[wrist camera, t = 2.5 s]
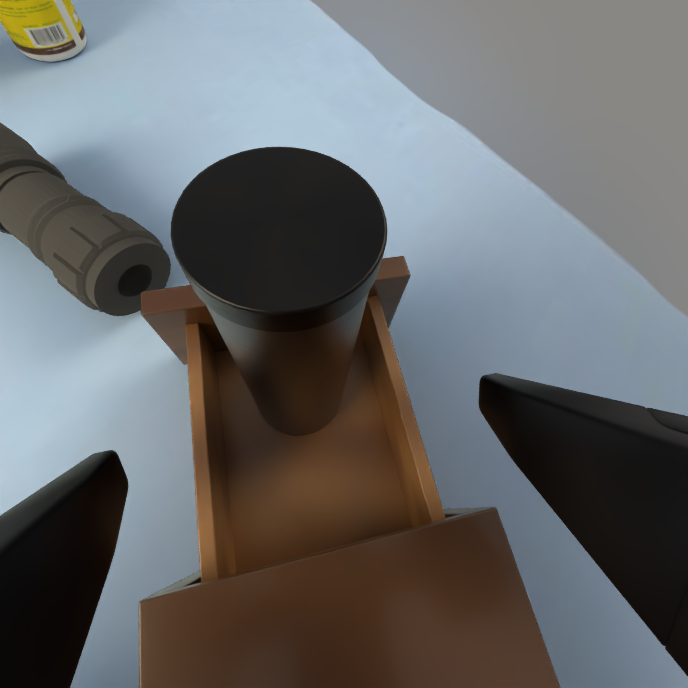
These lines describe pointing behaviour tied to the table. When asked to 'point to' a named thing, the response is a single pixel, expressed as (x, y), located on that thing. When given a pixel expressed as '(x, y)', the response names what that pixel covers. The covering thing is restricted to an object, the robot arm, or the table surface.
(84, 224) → the flashlight
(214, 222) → the canister
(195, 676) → the drawer unit
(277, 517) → the drawer
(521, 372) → the table surface
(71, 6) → the supplement bottle
